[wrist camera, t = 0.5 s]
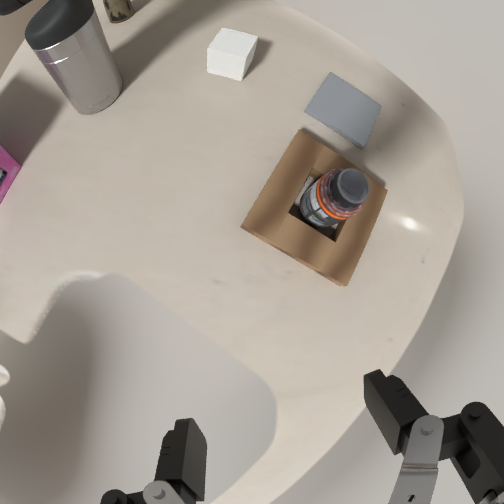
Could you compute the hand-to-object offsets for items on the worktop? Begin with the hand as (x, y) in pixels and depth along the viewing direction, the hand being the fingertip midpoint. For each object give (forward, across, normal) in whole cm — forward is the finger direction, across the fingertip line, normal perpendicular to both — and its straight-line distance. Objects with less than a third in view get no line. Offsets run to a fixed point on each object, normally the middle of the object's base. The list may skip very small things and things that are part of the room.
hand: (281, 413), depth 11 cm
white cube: (+36, -5, -30) cm, 47 cm away
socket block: (+29, -11, -4) cm, 32 cm away
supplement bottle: (+30, -11, -4) cm, 32 cm away
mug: (+40, +12, -55) cm, 69 cm away
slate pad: (+35, -22, -19) cm, 45 cm away
